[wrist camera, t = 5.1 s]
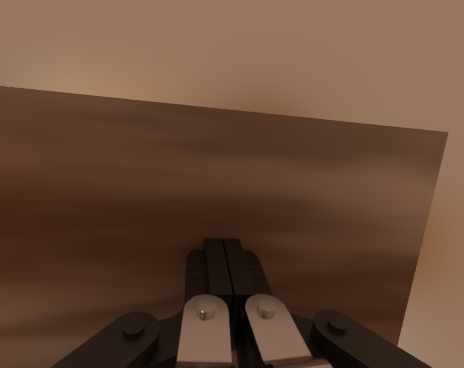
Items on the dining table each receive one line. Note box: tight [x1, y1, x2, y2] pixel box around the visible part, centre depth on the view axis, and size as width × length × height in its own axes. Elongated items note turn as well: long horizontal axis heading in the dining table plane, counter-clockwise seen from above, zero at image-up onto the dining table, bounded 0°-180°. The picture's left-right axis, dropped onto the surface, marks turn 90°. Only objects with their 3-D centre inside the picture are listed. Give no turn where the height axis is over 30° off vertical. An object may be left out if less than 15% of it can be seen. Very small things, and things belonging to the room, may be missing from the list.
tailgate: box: [0, 86, 448, 368], centre depth 14 cm, size 2×20×16 cm, turn 98°
